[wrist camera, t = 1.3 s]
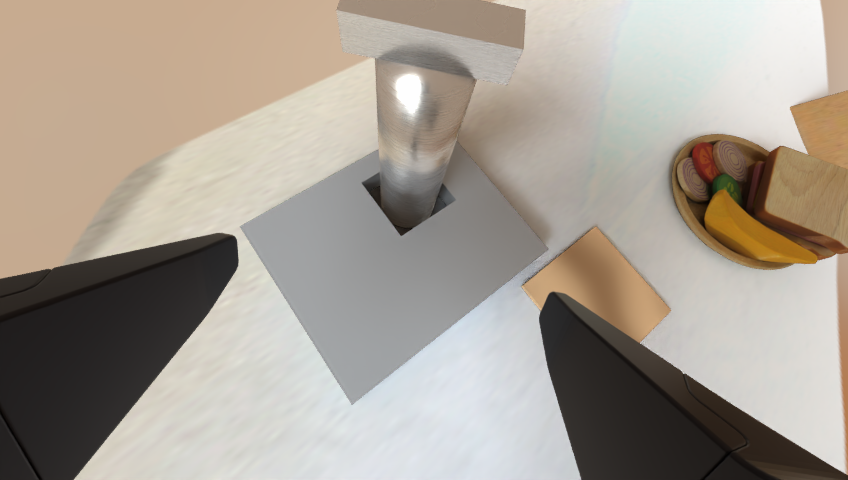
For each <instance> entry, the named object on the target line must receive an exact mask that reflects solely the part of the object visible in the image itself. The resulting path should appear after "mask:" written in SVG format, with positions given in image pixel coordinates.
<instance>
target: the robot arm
mask: <svg viewBox="0 0 848 480" xmlns="http://www.w3.org/2000/svg"><path fill="white" fill-rule="evenodd" d="M237 267H238V247H237V239H236V237H235V236H233V235H230V234H224V233H215V234H211V235H206V236H201V237H196V238H192V239H187V240H182V241H178V242H173V243H168V244H164V245H159V246H154V247H149V248H145V249H140V250H135V251H131V252H126V253H121V254H116V255H112V256H107V257H102V258H98V259H93V260H88V261H83V262H79V263H74V264H69V265H65V266H60V267H56V268H53V269H52V270H51V269H45V270H41V271H36V272H31V273H27V274H22V275H17V276H12V277H7V278H2V279H0V480H74V479H75V477H76V476H77V475H78V474H79V473H80V471H81V470H82V469H83V468H84V466H85V465H86V464H87V463H88V461H89V460H90V459H91V458H92V456H93V455H94V454H95V453H96V452H97V450H98V449H99V448H100V447H101V445H102V444H103V443H104V442H105V440H106V439H107V438H108V437H109V436H110V434H111V433H112V432H113V431H114V429H115V428H116V427H117V426H118V424H119V423H120V422H121V421H122V419H123V418H124V417H125V416H126V415H127V413H128V412H129V411H130V410H131V408H132V407H133V406H134V405H135V403H136V402H137V401H138V400H139V399H140V397H141V396H142V395H143V394H144V392H145V391H146V390H147V389H148V387H149V386H150V385H151V384H152V382H153V381H154V380H155V379H156V378H157V376H158V375H159V374H160V373H161V371H162V370H163V369H164V368H165V366H166V365H167V364H168V363H169V361H170V360H171V359H172V358H173V357H174V355H175V354H176V353H177V352H178V350H179V349H180V348H181V347H182V345H183V344H184V343H185V342H186V341H187V339H188V338H189V337H190V336H191V334H192V333H193V332H194V331H195V329H196V328H197V327H198V326H199V324H200V323H201V322H202V321H203V319H204V318H205V317H206V316H207V314H208V313H209V312H210V310H211V309H212V307H213V306H214V304H215V303H216V301H217V300H218V298H219V296H220V295H221V293H222V292H223V290H224V289H225V287H226V285H227V284H228V282H229V281H230V279H231V278H232V276H233V275H234V273H235V271H236V270H237ZM539 323H540V328H541V334H542V339H543V345H544V350H545V356H546V361H547V366H548V370H549V373H550V377H551V380H552V383H553V387H554V390H555V393H556V397H557V400H558V403H559V407H560V410H561V413H562V417H563V420H564V423H565V427H566V430H567V433H568V437H569V440H570V443H571V447H572V450H573V453H574V456H575V460H576V463H577V466H578V470H579V473H580V476H581V480H848V475H846V474H845V473H843V472H841V471H839V470H838V469H836V468H834V467H832V466H831V465H829V464H827V463H826V462H824V461H823V460H821V459H819V458H818V457H816V456H815V455H813V454H811V453H810V452H808V451H806V450H805V449H803V448H802V447H800V446H798V445H797V444H795V443H793V442H792V441H790V440H789V439H787V438H785V437H784V436H782V435H780V434H779V433H777V432H776V431H774V430H772V429H771V428H769V427H767V426H766V425H764V424H763V423H761V422H759V421H758V420H756V419H755V418H753V417H751V416H750V415H748V414H747V413H745V412H743V411H742V410H740V409H739V408H737V407H735V406H734V405H732V404H731V403H729V402H728V401H726V400H724V399H723V398H721V397H720V396H718V395H717V394H715V393H714V392H712V391H711V390H709V389H708V388H706V387H705V386H703V385H701V384H700V383H698V382H697V381H695V380H694V379H693V378H691V377H690V376H688V375H687V374H683V373H682V371H680V370H679V369H677V368H676V367H674V366H673V365H671V364H670V363H669V362H667V361H666V360H664V359H663V358H661V357H660V356H658V355H657V354H655V353H654V352H652V351H651V350H649V349H648V348H646V347H645V346H643V345H642V344H640V343H639V342H637V341H636V340H634V339H633V338H631V337H630V336H628V335H627V334H625V333H624V332H622V331H621V330H619V329H618V328H616V327H615V326H613V325H612V324H610V323H609V322H607V321H606V320H604V319H603V318H601V317H600V316H598V315H597V314H595V313H594V312H592V311H591V310H589V309H588V308H586V307H585V306H583V305H582V304H580V303H579V302H577V301H576V300H574V299H573V298H571V297H570V296H568V295H567V294H565V293H560V292H555V291H552V292H550V293H549V294H548V296H547V298H546V301H545V303H544V305H543V308H542V310H541V312H540V316H539Z"/></svg>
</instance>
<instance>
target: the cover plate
mask: <svg viewBox="0 0 848 480" xmlns="http://www.w3.org/2000/svg"><path fill="white" fill-rule="evenodd" d="M378 186H380V166H379V149H378V150H376V151H374V152H372V153H371V154H369V155H367V156H365V157H363V158H362V159H360V160H358V161H356V162H355V163H353V164H351V165H349V166H347V167H346V168H344V169H342V170H340V171H338V172H337V173H335V174H333V175H331V176H329V177H328V178H326V179H324V180H322V181H320V182H319V183H317V184H315V185H313V186H311V187H310V188H308V189H306V190H304V191H302V192H301V193H299V194H297V195H295V196H293V197H292V198H290V199H288V200H286V201H284V202H283V203H281V204H279V205H277V206H276V207H274V208H272V209H270V210H268V211H267V212H265V213H263V214H261V215H259V216H258V217H256V218H254V219H252V220H250V221H249V222H247V223H245V224H243V225H241V226H240V228H241V229H242V231H243V232H244V234H245V236H246V237H247V239H248V240H249V242H250V244H251V245H252V247H253V248H254V250H255V251H256V253H257V255H258V256H259V258H260V259H261V261H262V263H263V264H264V266H265V267H266V269H267V271H268V272H269V274H270V275H271V277H272V278H273V280H274V282H275V283H276V285H277V286H278V288H279V290H280V291H281V293H282V294H283V296H284V298H285V299H286V301H287V302H288V304H289V305H290V307H291V309H292V310H293V312H294V313H295V315H296V317H297V318H298V320H299V321H300V323H301V325H302V326H303V328H304V329H305V331H306V333H307V334H308V336H309V337H310V339H311V340H312V342H313V344H314V345H315V347H316V348H317V350H318V352H319V353H320V355H321V356H322V358H323V360H324V361H325V363H326V364H327V366H328V367H329V369H330V371H331V372H332V374H333V375H334V377H335V379H336V380H337V382H338V383H339V385H340V387H341V388H342V390H343V391H344V393H345V394H346V396H347V398H348V399H349V401H350V402H351V404H354V403H355V402H356V401H357V400H359V399H360V398H361V397H363V396H364V395H365V394H366V393H368V392H369V391H370V390H371V389H373V388H374V387H375V386H376V385H378V384H379V383H380V382H381V381H383V380H384V379H385V378H387V377H388V376H389V375H390V374H392V373H393V372H394V371H395V370H397V369H398V368H399V367H400V366H402V365H403V364H404V363H405V362H407V361H408V360H409V359H411V358H412V357H413V356H414V355H416V354H417V353H418V352H419V351H421V350H422V349H423V348H424V347H426V346H427V345H428V344H429V343H431V342H432V341H433V340H435V339H436V338H437V337H438V336H440V335H441V334H442V333H443V332H445V331H446V330H447V329H448V328H450V327H451V326H452V325H453V324H455V323H456V322H457V321H458V320H460V319H461V318H462V317H464V316H465V315H466V314H467V313H469V312H470V311H471V310H472V309H474V308H475V307H476V306H477V305H479V304H480V303H481V302H482V301H484V300H485V299H486V298H488V297H489V296H490V295H491V294H493V293H494V292H495V291H496V290H498V289H499V288H500V287H501V286H503V285H504V284H505V283H506V282H508V281H509V280H510V279H512V278H513V277H514V276H515V275H517V274H518V273H519V272H520V271H522V270H523V269H524V268H525V267H527V266H528V265H529V264H530V263H532V262H533V261H534V260H536V259H537V258H538V257H539V256H541V255H542V254H543V253H544V252H546V251H547V250H548V248H547V247H546V246H545V244H544V243H543V242H542V241H541V240H540V238H539V237H538V236H537V235H536V234H535V233H534V231H533V230H532V229H531V228H530V227H529V225H528V224H527V223H526V222H525V221H524V220H523V218H522V217H521V216H520V215H519V214H518V213H517V211H516V210H515V209H514V208H513V207H512V205H511V204H510V203H509V202H508V201H507V200H506V198H505V197H504V196H503V195H502V194H501V192H500V191H499V190H498V189H497V188H496V187H495V185H494V184H493V183H492V182H491V181H490V179H489V178H488V177H487V176H486V175H485V174H484V172H483V171H482V170H481V169H480V168H479V167H478V165H477V164H476V163H475V162H474V161H473V159H472V158H471V157H470V156H469V155H468V154H467V152H466V151H465V150H464V149H463V148H462V146H461V145H460V144H459V143H458V142H457V141H456V143H455V146H454V149H453V152H452V155H451V158H450V161H449V164H448V167H447V170H446V173H445V175H444V178H443V181H442V184H441V187H440V190H439V193H438V195H439V197H440V198H441V199H442V200H443V202H444V203H445V204H446V205H447V206H446V207H445V208H443V209H442V210H440V211H439V212H437V213H436V214H434V215H433V216H431V217H430V218H428V219H427V220H425V221H424V222H422V223H421V224H419V225H418V226H416V227H415V228H413V229H412V230H410V231H408V232H407V233H405V234H404V235H402V236H401V235H400V234H399V233H398V231H397V230H396V229H395V227H394V226H393V225H392V223H391V222H390V221H389V219H388V218H387V217H386V215H385V214H384V213H383V211H382V210H381V209H380V207H379V206H378V205H377V203H376V202H375V201H374V199H373V198H372V197H371V195H370V194H369V192H370V191H371V190H373V189H375V188H376V187H378Z"/></svg>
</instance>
